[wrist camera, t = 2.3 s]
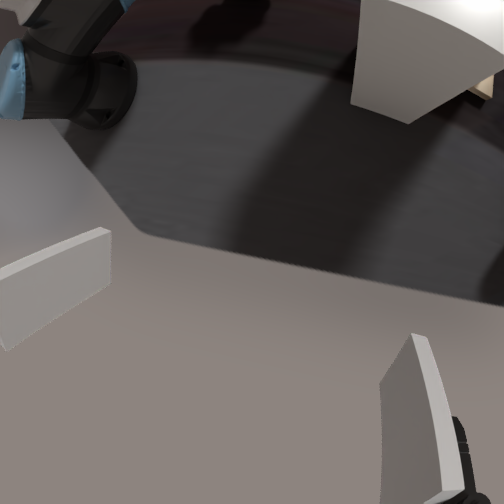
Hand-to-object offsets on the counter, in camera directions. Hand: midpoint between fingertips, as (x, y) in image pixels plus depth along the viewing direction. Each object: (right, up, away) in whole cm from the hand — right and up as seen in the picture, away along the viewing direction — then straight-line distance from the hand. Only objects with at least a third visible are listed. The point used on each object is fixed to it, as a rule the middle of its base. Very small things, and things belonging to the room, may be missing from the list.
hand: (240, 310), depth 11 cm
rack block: (+18, +25, +18) cm, 35 cm away
